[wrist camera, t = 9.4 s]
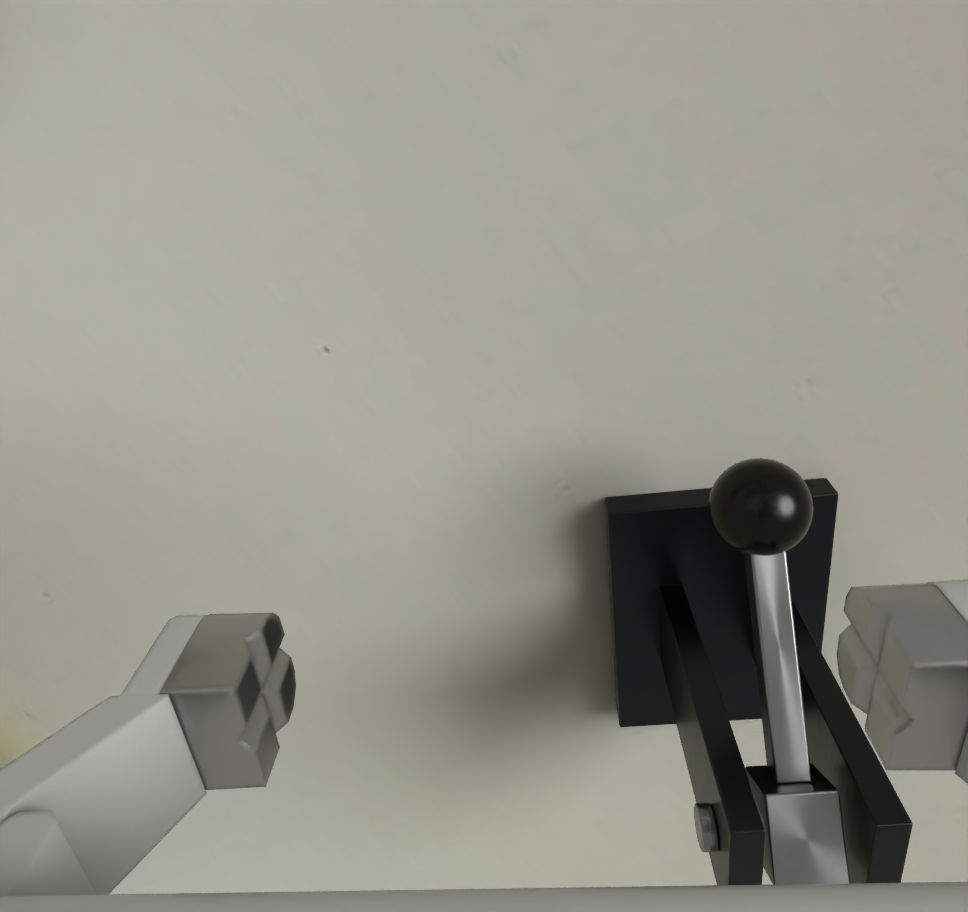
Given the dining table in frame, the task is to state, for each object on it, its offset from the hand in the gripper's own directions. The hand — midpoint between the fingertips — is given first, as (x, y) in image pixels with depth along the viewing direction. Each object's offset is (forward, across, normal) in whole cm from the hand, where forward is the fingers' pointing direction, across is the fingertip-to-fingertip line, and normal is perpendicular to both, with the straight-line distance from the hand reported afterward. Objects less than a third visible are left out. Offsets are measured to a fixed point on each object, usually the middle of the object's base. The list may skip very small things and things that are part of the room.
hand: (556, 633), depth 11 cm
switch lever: (+11, -7, +11) cm, 17 cm away
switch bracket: (+18, -7, +15) cm, 25 cm away
